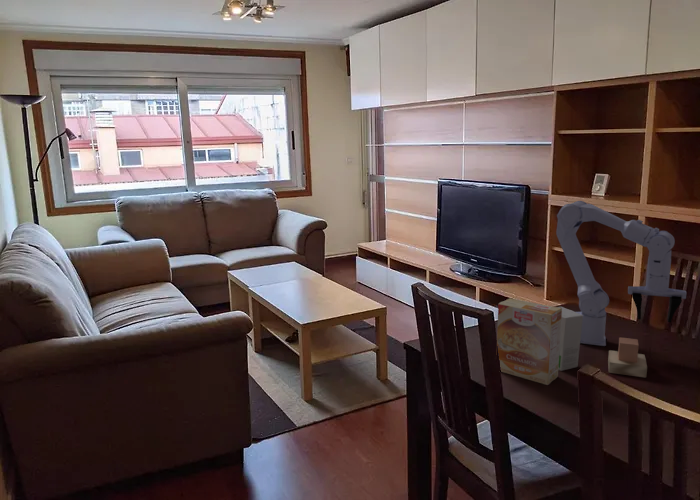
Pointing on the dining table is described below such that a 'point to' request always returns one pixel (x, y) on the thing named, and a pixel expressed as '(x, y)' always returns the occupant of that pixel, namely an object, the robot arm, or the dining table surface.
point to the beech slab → (627, 365)
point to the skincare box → (569, 339)
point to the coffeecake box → (529, 340)
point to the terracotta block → (628, 349)
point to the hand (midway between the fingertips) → (653, 319)
